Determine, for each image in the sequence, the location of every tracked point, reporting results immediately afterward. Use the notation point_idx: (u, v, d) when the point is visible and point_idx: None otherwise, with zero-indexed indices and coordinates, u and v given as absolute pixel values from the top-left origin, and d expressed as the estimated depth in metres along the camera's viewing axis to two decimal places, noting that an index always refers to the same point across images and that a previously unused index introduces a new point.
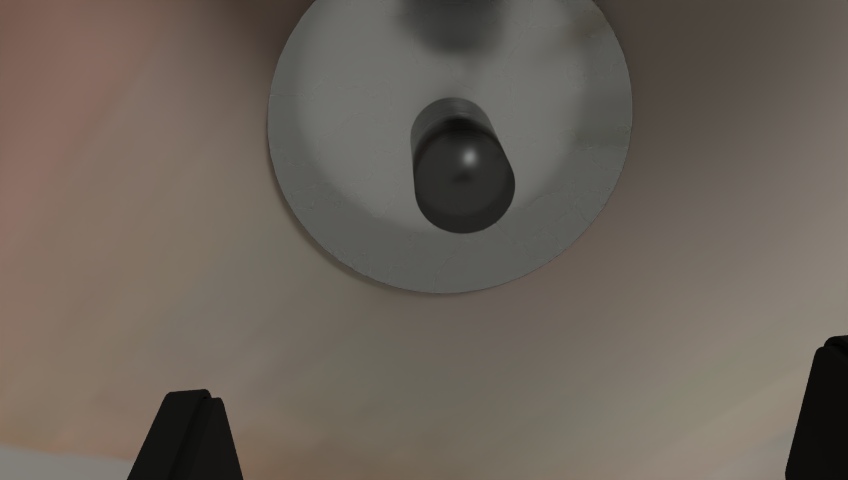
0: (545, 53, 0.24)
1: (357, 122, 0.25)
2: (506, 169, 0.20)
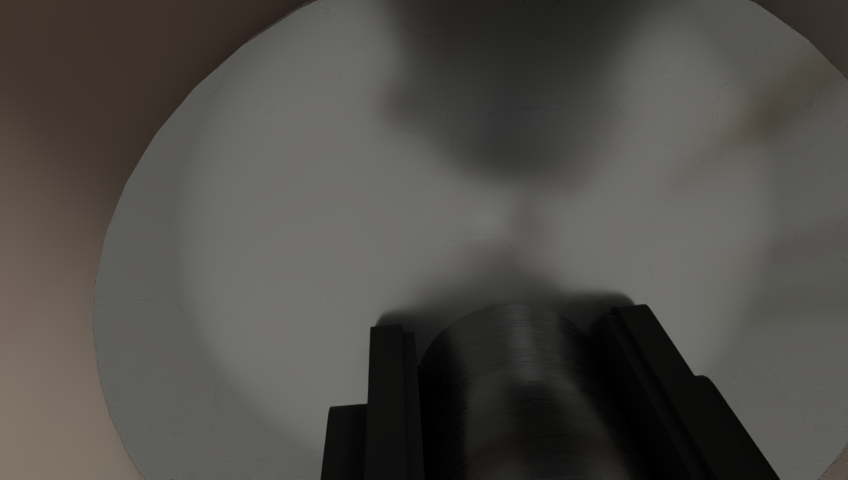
0: (733, 214, 0.10)
1: (299, 354, 0.11)
2: None
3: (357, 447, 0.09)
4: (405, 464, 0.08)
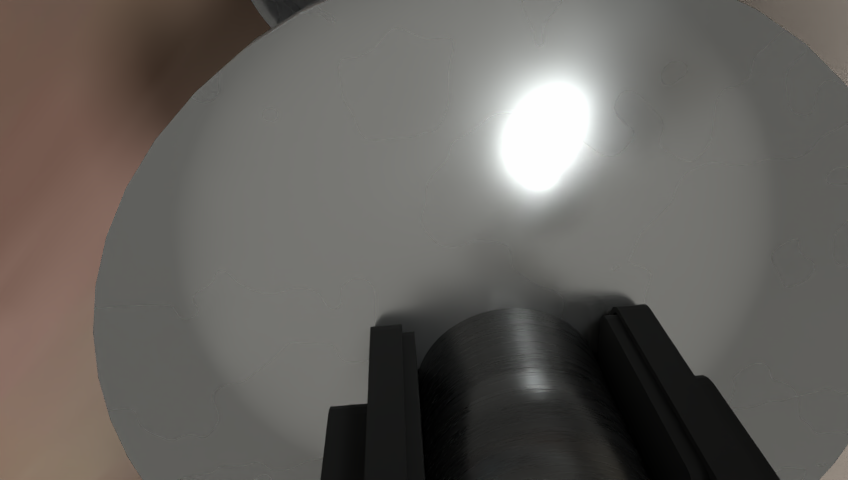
0: (732, 218, 0.10)
1: (299, 358, 0.11)
2: None
3: (357, 446, 0.09)
4: (405, 464, 0.08)
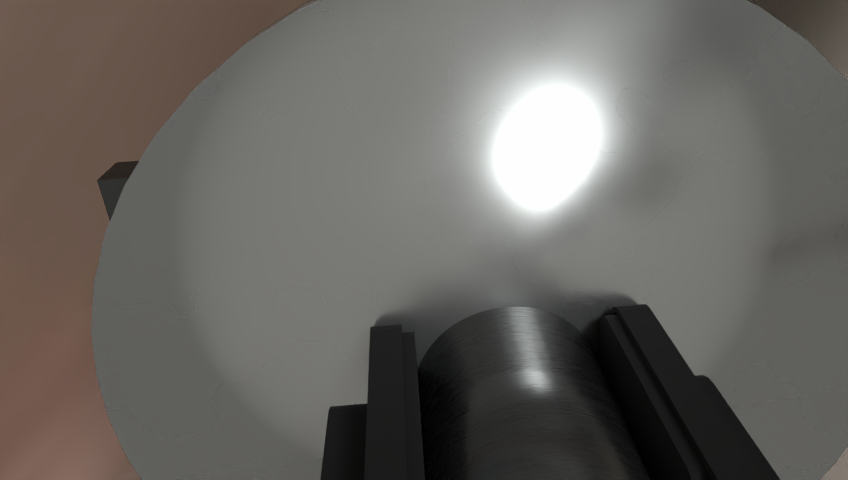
0: (733, 216, 0.10)
1: (299, 357, 0.11)
2: None
3: (357, 447, 0.09)
4: (405, 464, 0.08)
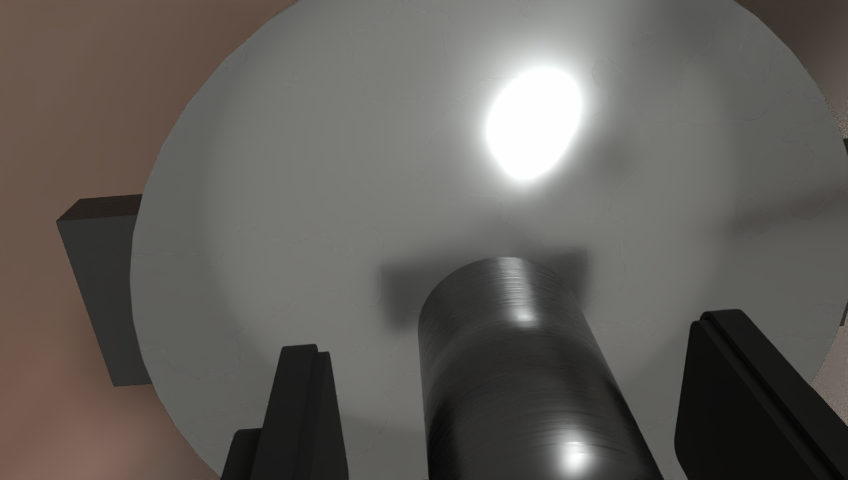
0: (697, 174, 0.12)
1: (313, 302, 0.12)
2: None
3: None
4: None
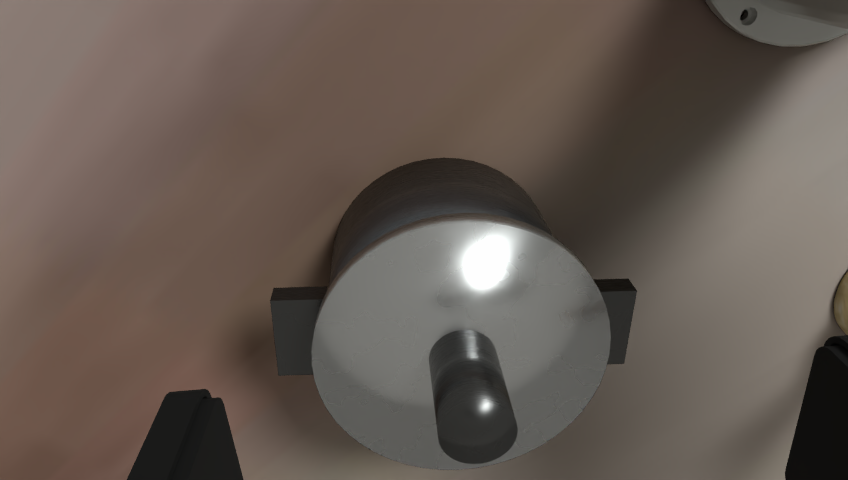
0: (544, 302, 0.29)
1: (386, 344, 0.30)
2: (511, 422, 0.26)
3: None
4: None
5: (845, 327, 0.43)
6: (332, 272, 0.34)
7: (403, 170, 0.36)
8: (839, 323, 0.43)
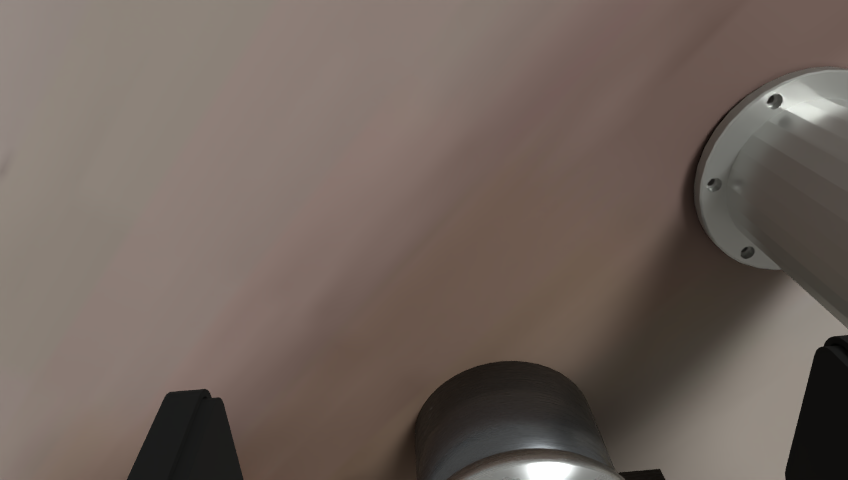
0: None
1: None
2: None
3: None
4: None
5: None
6: (421, 471, 0.42)
7: (470, 376, 0.44)
8: None
